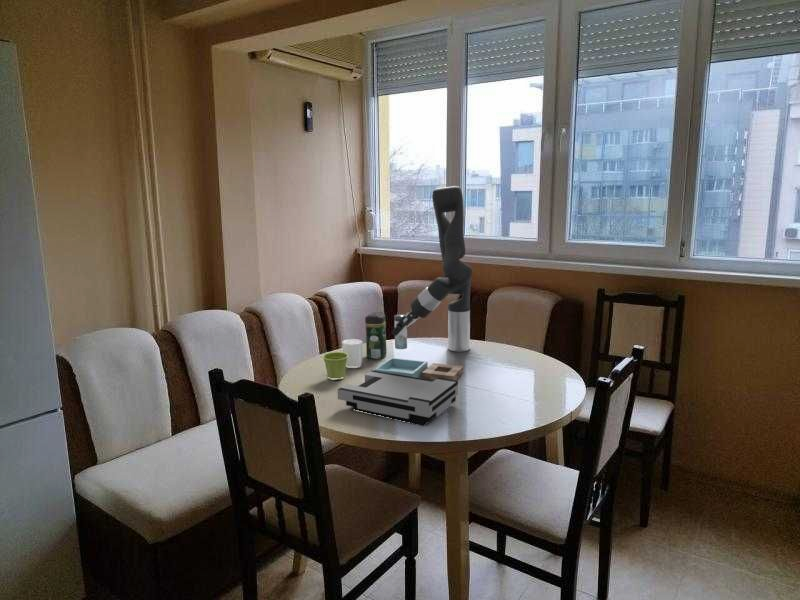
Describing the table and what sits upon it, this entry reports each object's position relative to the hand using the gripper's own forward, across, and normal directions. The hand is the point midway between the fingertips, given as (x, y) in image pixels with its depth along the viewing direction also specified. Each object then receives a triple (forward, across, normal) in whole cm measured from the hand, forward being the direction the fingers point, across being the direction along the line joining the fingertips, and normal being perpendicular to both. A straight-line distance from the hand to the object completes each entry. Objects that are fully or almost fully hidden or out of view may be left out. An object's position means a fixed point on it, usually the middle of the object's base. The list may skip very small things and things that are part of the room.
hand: (396, 332), depth 202 cm
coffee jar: (+24, -19, -1) cm, 31 cm away
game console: (+3, +28, +21) cm, 35 cm away
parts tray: (+10, 0, +13) cm, 17 cm away
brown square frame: (0, -5, +23) cm, 24 cm away
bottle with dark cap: (+3, 0, +5) cm, 6 cm away
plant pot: (+26, +11, -2) cm, 28 cm away
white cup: (+26, -4, -3) cm, 27 cm away
